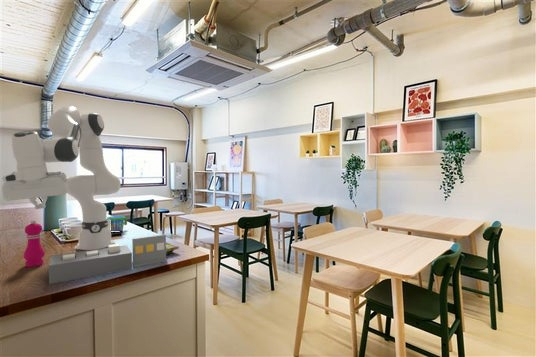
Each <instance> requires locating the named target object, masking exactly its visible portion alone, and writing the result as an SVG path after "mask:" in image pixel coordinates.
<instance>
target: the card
mask: <svg viewBox="0 0 536 357" xmlns="http://www.w3.org/2000/svg"><path fill="white" fill-rule="evenodd" d="M166 242H167V234H159V235H150V236H144V237H143V236H142V237H134V238H132V268H140V267H144V266H150V265H154V264H161V262H162V263H167V262H168V258H167V254H166Z"/></svg>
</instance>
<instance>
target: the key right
mask: <svg viewBox="0 0 536 357" xmlns="http://www.w3.org/2000/svg"><path fill="white" fill-rule="evenodd" d="M120 246H121V245H120V244H119V243H115V244H112V245H108V247H107V248H108V253H114V252H120Z"/></svg>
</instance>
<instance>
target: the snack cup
mask: <svg viewBox="0 0 536 357" xmlns="http://www.w3.org/2000/svg"><path fill="white" fill-rule="evenodd" d="M107 219H110V220H111V231H122V232H123V230H124V225H125V226H127V225H128V220H127V218H126V216H124V215H112V216H108V217H107Z"/></svg>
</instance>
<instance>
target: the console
mask: <svg viewBox="0 0 536 357" xmlns="http://www.w3.org/2000/svg"><path fill="white" fill-rule="evenodd" d="M96 250H98V255H94V256H87V254H86V252H89V251H96ZM68 254H75V258H74V259H67V260H63V255H68ZM132 262H133V251H132V250H130V247H129V246H128V245H127V244H126V245H120V252H114V253H108V247H105V248H101V249H94V250H83V251H82V250H81V251H76V252H68V253H59V254H55V255H54V254H53V255H51V257H50V259H49V263H48V285H53V284H58V283H62V282H68V281H74V280H80V279H84V278H85V279H86V278H90V277H95V276H101V275H107V274H112V273H118V272H123V271H128V270H133V265H132Z"/></svg>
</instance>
